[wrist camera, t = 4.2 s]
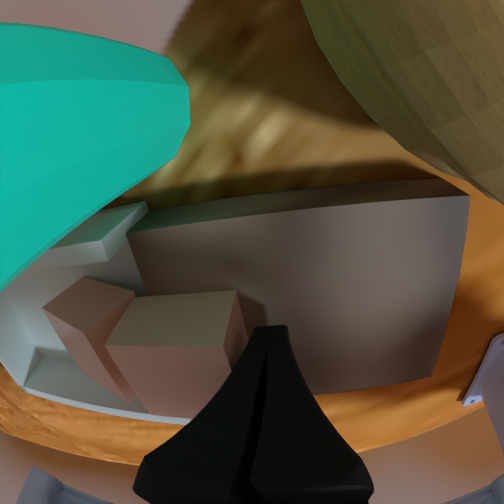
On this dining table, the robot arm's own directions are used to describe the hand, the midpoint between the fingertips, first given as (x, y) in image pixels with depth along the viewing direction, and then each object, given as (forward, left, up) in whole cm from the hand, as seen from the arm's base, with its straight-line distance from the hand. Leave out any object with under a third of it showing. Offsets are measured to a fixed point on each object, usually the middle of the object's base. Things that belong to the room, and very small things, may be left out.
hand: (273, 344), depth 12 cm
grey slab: (-2, 0, -3) cm, 4 cm away
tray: (+12, 0, -3) cm, 13 cm away
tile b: (+8, 0, -2) cm, 8 cm away
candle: (+5, -9, -4) cm, 11 cm away
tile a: (+3, 0, -1) cm, 4 cm away
